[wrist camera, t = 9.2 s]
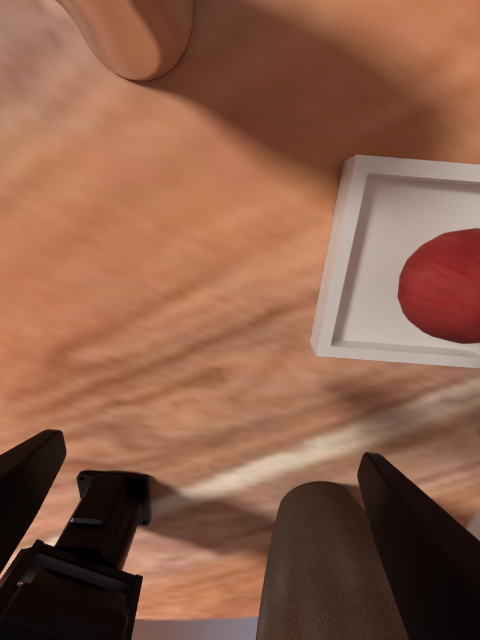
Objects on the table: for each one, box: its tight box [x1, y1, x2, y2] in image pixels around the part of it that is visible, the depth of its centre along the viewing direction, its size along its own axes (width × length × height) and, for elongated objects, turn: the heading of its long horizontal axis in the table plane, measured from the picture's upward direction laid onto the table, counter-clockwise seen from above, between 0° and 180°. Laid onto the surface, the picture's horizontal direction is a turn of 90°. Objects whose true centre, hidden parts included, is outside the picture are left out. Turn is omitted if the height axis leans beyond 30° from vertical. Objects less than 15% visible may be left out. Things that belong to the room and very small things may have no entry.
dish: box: [310, 154, 480, 368], centre depth 18 cm, size 12×12×2 cm
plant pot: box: [256, 482, 409, 640], centre depth 20 cm, size 15×15×16 cm
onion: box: [398, 228, 480, 344], centre depth 14 cm, size 6×6×8 cm
